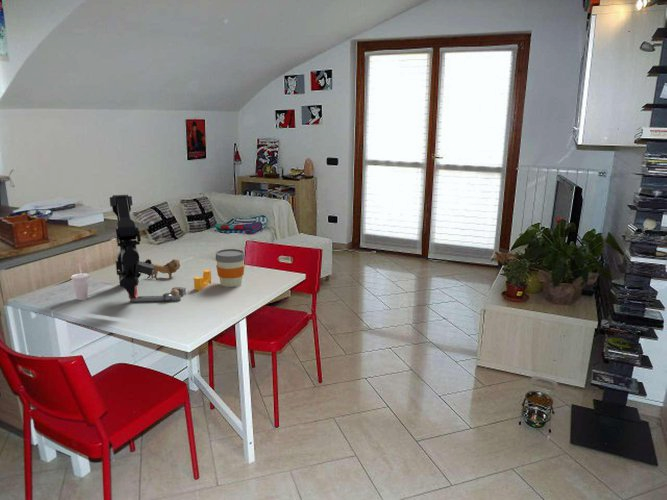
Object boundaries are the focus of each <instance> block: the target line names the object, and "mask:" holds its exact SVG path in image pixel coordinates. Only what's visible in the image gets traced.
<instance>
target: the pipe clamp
mask: <svg viewBox="0 0 667 500" xmlns="http://www.w3.org/2000/svg"><path fill="white" fill-rule="evenodd" d="M210 284H212V271H211V270H210V269H209V270H208V269H204V270H203V274H202V276H195V277H194V278H193V287H194V291H201V290H203V289H204V288H205V287H206V286H208V285H210Z"/></svg>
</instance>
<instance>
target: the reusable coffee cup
mask: <svg viewBox="0 0 667 500" xmlns="http://www.w3.org/2000/svg"><path fill="white" fill-rule="evenodd" d="M245 255H246V254H245V251H244V250H242V249H240V248H239V249H238V248H237V249H236V248H225V249H220V250H217V251H216V252H215V262H216V271H217V276H218V277H219V284H220V286H222V287H226V288H230V287H231V288H234V287H239V288H240V287H242V284H243V277H244V274H245V266H246V265H245V260H246V257H245Z"/></svg>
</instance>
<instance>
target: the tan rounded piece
mask: <svg viewBox="0 0 667 500" xmlns="http://www.w3.org/2000/svg"><path fill="white" fill-rule="evenodd" d="M169 293H172V294H173V295H179V291H178V290H177V289H173V290H172V289H171V290H170V292H169Z"/></svg>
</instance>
